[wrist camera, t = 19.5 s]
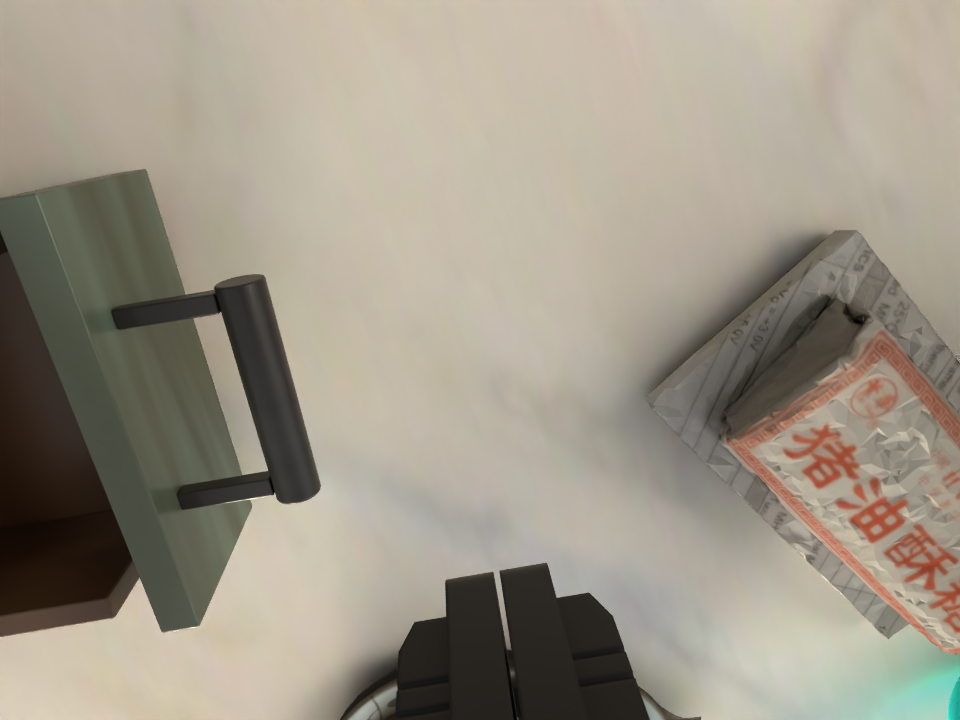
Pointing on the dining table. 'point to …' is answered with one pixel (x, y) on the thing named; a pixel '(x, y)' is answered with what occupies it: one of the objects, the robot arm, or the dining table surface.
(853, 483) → the packaged product
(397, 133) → the dining table surface
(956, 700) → the donuts
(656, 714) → the salad plate
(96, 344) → the drawer
